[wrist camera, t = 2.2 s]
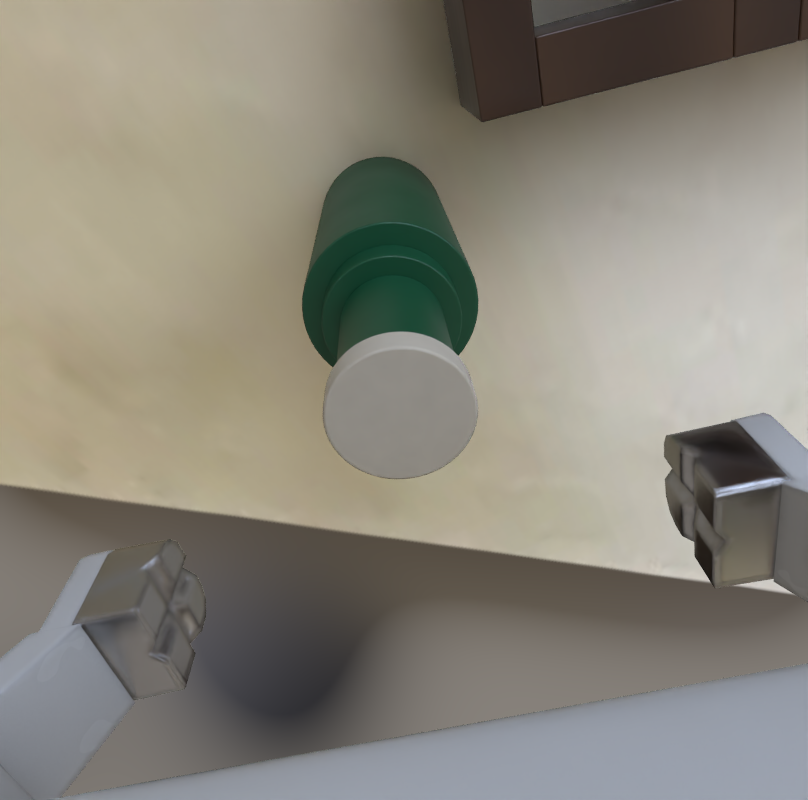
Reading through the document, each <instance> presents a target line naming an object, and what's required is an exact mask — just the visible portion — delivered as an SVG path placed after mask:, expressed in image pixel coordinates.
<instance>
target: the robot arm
mask: <svg viewBox="0 0 808 800" xmlns="http://www.w3.org/2000/svg"><path fill="white" fill-rule="evenodd" d="M664 457H665V459H666V460H667V462H668V463H669V465H670V466H671V468H672V470H671V471H670V473H669V474H668V476H667V477H666V478H665V487H666V497H667V502H668V506H669V510H670V513H671V515H672V518H673V520H674V522H675V525H676V526H677V528H678V530H679V531H680V533H681V535H682V536H683V537H685V538H687V539H689V540H691V541H693V542H694V544H695V558H696V559H697V561H698V562H699V564H700V566H701V567H702V569H703V570H704V572H705V574H706V575H707V577H708V578H709V580H710V582H711V583H712V585H713V586H714V588H719V587H725V586H731V585H738V584H744V583H750V582H756V581H762V580H768V579H774V582H776V583H777V584H779V585H780V586H782V587H784V588H785V589H787V590H789V591H790V592H792V593H794V594H795V595H797V596H798V597H800V598H802V599H803V600H805V601H807V602H808V450H807V449H806V448H805V447H804V446H803V445H802V444H801V443H800V442H799V441H798V440H797V439H796V438H794V437H793V436H792V435H791V434H790V433H789V432H788V431H787V430H786V429H785V428H784V427H783V426H782V425H781V424H780V423H779V422H777V421H776V420H775V419H774V418H773V417H772V416H771V415H769V414H766V413H760V414H756V415H752V416H747V417H743V418H739V419H735V420H731V421H730V422H726V423H722V424H717V425H712V426H708V427H703V428H698V429H694V430H689V431H684V432H680V433H675V434H670V435H666V438H665V442H664ZM185 558H186V555H185V553H184V552H183V550H182V549H181V547H180V545H179V544H178V542H177V541H174V540H171V539H168V540H163V541H157V542H152V543H147V544H141V545H136V546H131V547H125V548H120V549H115V550H111V551H105V552H100V553H95V554H90V555H87V556H85V557H84V558H82V559H80V560H79V562H78V563H77V565H76V567H75V569H74V571H73V572H72V574H71V576H70V578H69V579H68V581H67V583H66V585H65V586H64V588H63V590H62V592H61V593H60V595H59V597H58V599H57V601H56V602H55V604H54V606H53V608H52V609H51V611H50V613H49V615H48V616H47V618H46V620H45V622H44V624H43V625H42V627H41V629H40V631H39V632H37V633H32V634H29V635H28V636H26V637H25V638H24V639H23V640H22V641H20V642H19V643H18V644H17V645H16V646H14V647H13V648H12V649H11V650H9V651H8V652H7V653H6V654H5V655H3V656H2V657H1V658H0V800H808V663H807V664H801V665H796V666H790V667H784V668H779V669H774V670H768V671H763V672H757V673H751V674H746V675H740V676H735V677H729V678H723V679H718V680H712V681H707V682H701V683H696V684H691V685H684V686H679V687H673V688H668V689H662V690H656V691H651V692H646V693H640V694H634V695H629V696H623V697H617V698H612V699H606V700H601V701H595V702H589V703H584V704H579V705H573V706H567V707H562V708H556V709H550V710H545V711H539V712H533V713H528V714H523V715H517V716H512V717H505V718H500V719H494V720H489V721H484V722H478V723H473V724H467V725H461V726H455V727H450V728H445V729H439V730H433V731H428V732H422V733H417V734H411V735H405V736H400V737H394V738H389V739H383V740H378V741H372V742H366V743H361V744H356V745H350V746H345V747H339V748H333V749H328V750H323V751H316V752H311V753H306V754H300V755H294V756H289V757H283V758H278V759H272V760H266V761H261V762H255V763H250V764H244V765H239V766H233V767H227V768H222V769H216V770H211V771H205V772H200V773H194V774H189V775H183V776H177V777H172V778H166V779H161V780H155V781H149V782H144V783H139V784H133V785H127V786H122V787H116V788H110V789H105V790H99V791H94V792H89V793H83V794H78V795H72V796H66V797H62V795H63V794H64V793H65V791H66V790H67V789H68V788H69V786H70V785H71V784H72V783H73V781H74V780H75V779H76V777H77V776H78V775H79V774H80V772H81V771H82V770H83V769H84V767H85V766H86V765H87V763H88V762H89V761H90V760H91V758H92V757H93V756H94V755H95V753H96V752H97V751H98V749H99V748H100V747H101V746H102V744H103V743H104V742H105V741H106V739H107V738H108V737H109V735H110V734H111V733H112V732H113V730H114V729H115V728H116V727H117V725H118V724H119V723H120V722H121V720H122V719H123V718H124V716H125V715H126V714H127V712H128V711H129V710H130V709H131V708H132V706H133V705H134V704H135V702H134V700H138V699H142V698H147V697H152V696H156V695H161V694H165V693H170V692H174V691H179V690H183V689H185V687H186V684H187V681H188V677H189V674H190V670H191V667H192V664H193V660H194V657H195V652H194V650H193V649H192V647H191V645H190V643H191V642H192V641H193V640H194V639H195V638H196V637H197V636H198V634H199V633H200V632H201V631H202V629H203V625H204V621H205V617H206V599H205V595H204V591H203V588H202V585H201V583H200V581H199V579H198V577H197V575H195V574H193V573H192V572H190V571H188V570H187V569H185V568H183V564H184V561H185Z"/></svg>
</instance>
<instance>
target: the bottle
mask: <svg viewBox="0 0 808 800" xmlns="http://www.w3.org/2000/svg"><path fill="white" fill-rule="evenodd" d="M302 311H303V319H304V323H305V327H306V330H307V333H308V335H309V338H310V340H311V342H312V343H313V345H314V347H315V348H316V350H317V351H318V352H319V354H320V355H321V356H322V358H323V359H324V360H326V361H327V362H328V363H329V364H330V365H331V366H332V367H333V369H332V371H331V373H330V374H329V377H328V380H327V383H326V388H325V395H324V404H323V423H324V428H325V431H326V434H327V436H328V439H329V441H330V443H331V444H332V446H333V447H334V449H335V450H336V451H337V452H338V454H339V455H340V456H341V457H342V458H343V459H344V460H345V461H347V462H348V463H349V464H351V465H352V466H353V467H355V468H357V469H359V470H361V471H363V472H365V473H368V474H370V475H374V476H377V477H382V478H388V479H408V478H414V477H419V476H423V475H427V474H429V473H432V472H434V471H436V470H438V469H440V468H442V467H444V466H445V465H447V464H448V463H450V462H451V461H452V460H453V459H455V458H456V457H457V456H458V455H459V454H460V453H461V452H462V451H463V449H464V448H465V447H466V445H467V444H468V442H469V441H470V439H471V437H472V435H473V432H474V430H475V427H476V423H477V417H478V403H477V397H476V394H475V390H474V387H473V384H472V380H471V377H470V374H469V372H468V370H467V368H466V366H465V364H464V363H463V361H462V360H461V359H460V357H459V356H458V355H459V354H460V353H461V352H462V351H463V349H464V348H465V346H466V344H467V343H468V341H469V339H470V337H471V335H472V333H473V330H474V327H475V324H476V320H477V314H478V293H477V287H476V283H475V279H474V276H473V274H472V272H471V269H470V267H469V265H468V262H467V260H466V258H465V256H464V253H463V251H462V249H461V246H460V244H459V242H458V240H457V237H456V235H455V233H454V231H453V228H452V226H451V224H450V222H449V219H448V217H447V215H446V212H445V210H444V208H443V206H442V203H441V201H440V199H439V197H438V194H437V192H436V190H435V188H434V187H433V185H432V183H431V182H430V181H429V179H428V178H427V177H426V176H425V175H424V174H423V173H422V172H421V171H420V170H418V169H417V168H416V167H414V166H413V165H411V164H409V163H407V162H405V161H402V160H399V159H395V158H389V157H374V158H369V159H365V160H362V161H359V162H357V163H355V164H353V165H351V166H350V167H348V168H347V169H345V170H344V171H343V172H342V173H341V174H340V175H339V176H338V177H337V178H336V179H335V181H334V182H333V184H332V185H331V187H330V188H329V191H328V193H327V195H326V198H325V201H324V205H323V209H322V213H321V218H320V222H319V226H318V230H317V235H316V239H315V243H314V247H313V252H312V256H311V260H310V264H309V269H308V273H307V277H306V282H305V286H304V291H303V298H302Z"/></svg>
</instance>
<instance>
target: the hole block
mask: <svg viewBox="0 0 808 800" xmlns="http://www.w3.org/2000/svg"><path fill="white" fill-rule="evenodd" d="M443 2H444V8H445V14H446V20H447V26H448V32H449V38H450V44H451V50H452V56H453V62H454V67H455V73H456V79H457V85H458V91H459V97H460V103H461V106H462V107H463V108H465V109H466V110H467V111H468V112H470V113H471V114H472V115H474V116H475V117H476V118H477V119H479V120H480V121H481V122H485V121H489V120H493V119H497V118H501V117H505V116H509V115H513V114H517V113H520V112H524V111H528V110H532V109H536V108H540V107H542V106H548V105H552V104H556V103H560V102H564V101H568V100H571V99H575V98H579V97H583V96H587V95H591V94H595V93H599V92H603V91H607V90H611V89H615V88H618V87H622V86H626V85H630V84H634V83H638V82H642V81H646V80H650V79H654V78H658V77H662V76H665V75H669V74H673V73H677V72H681V71H685V70H689V69H693V68H697V67H701V66H705V65H709V64H712V63H716V62H720V61H724V60H728V59H731V58H732V57H733V58H736V57H740V56H744V55H747V54H751V53H755V52H759V51H763V50H767V49H771V48H775V47H779V46H783V45H787V44H791V43H794V42H796V41H802V40H806V39H808V0H636V1H632V2H628V3H624V4H621V5H617V6H613V7H609V8H605V9H602V10H598V11H594V12H590V13H587V14H583V15H579V16H575V17H571V18H568V19H564V20H560V21H556V22H552V23H549V24H545V25H541V26H537V27H534V24H533V15H532V6H531V0H443Z"/></svg>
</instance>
